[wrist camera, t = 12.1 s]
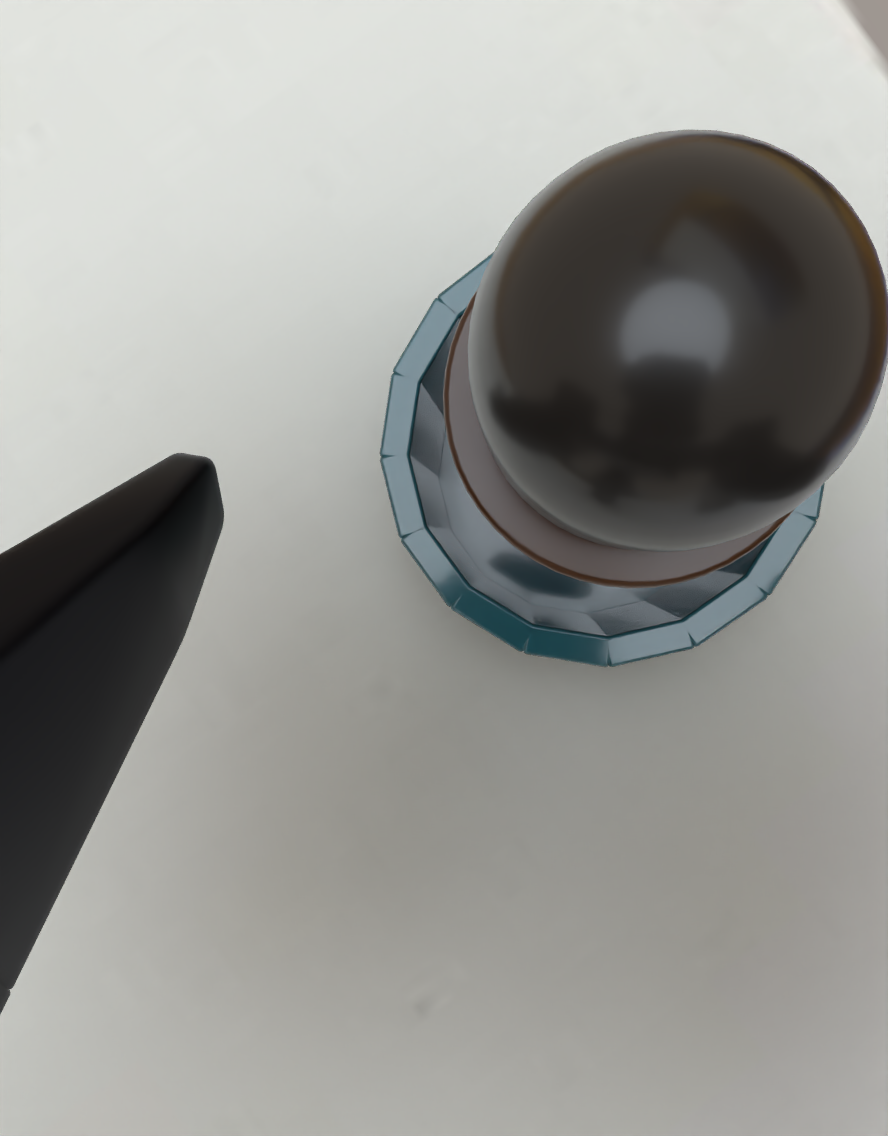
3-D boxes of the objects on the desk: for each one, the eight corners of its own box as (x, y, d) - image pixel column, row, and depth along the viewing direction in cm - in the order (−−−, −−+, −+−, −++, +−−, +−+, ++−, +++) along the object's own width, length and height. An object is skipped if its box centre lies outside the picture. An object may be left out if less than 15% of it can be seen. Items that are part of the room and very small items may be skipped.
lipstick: (695, 540, 17) (1129, 532, 5) (509, 585, 18) (470, 681, 5) (650, 355, 17) (970, -131, 5) (465, 403, 18) (321, 72, 5)
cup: (778, 589, 18) (877, 608, 13) (463, 662, 18) (439, 706, 13) (702, 273, 18) (770, 165, 13) (388, 358, 18) (337, 289, 13)
